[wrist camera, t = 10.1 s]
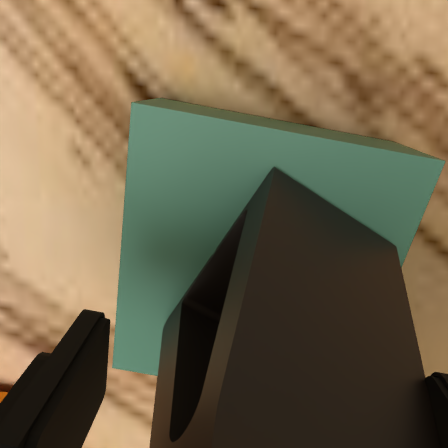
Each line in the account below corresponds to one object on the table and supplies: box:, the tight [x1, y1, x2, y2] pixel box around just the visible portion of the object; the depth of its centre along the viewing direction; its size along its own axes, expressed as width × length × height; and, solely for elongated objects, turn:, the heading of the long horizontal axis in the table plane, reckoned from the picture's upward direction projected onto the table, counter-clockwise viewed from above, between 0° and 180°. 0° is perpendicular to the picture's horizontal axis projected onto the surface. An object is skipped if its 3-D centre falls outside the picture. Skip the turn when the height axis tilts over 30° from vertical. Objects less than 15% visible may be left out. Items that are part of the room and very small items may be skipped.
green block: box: [112, 98, 445, 376], centre depth 18 cm, size 12×13×5 cm
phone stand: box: [150, 167, 441, 448], centre depth 10 cm, size 9×6×12 cm, turn 147°
